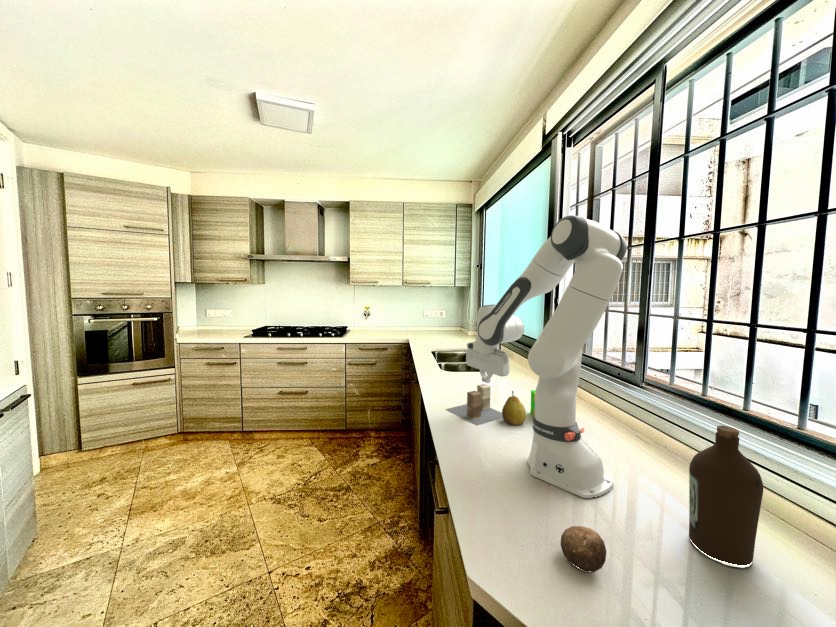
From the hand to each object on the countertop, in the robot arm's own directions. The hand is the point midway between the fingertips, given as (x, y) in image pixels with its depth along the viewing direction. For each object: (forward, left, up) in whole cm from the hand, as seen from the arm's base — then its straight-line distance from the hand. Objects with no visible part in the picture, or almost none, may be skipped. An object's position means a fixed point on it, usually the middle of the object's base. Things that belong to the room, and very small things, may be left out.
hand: (485, 382), depth 126 cm
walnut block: (+7, 0, -16) cm, 17 cm away
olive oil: (-70, +4, -17) cm, 72 cm away
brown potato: (-57, +30, -17) cm, 67 cm away
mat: (+10, -4, -17) cm, 20 cm away
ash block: (+12, -10, -16) cm, 22 cm away
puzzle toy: (-9, -25, -17) cm, 32 cm away
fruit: (-5, -10, -17) cm, 20 cm away
